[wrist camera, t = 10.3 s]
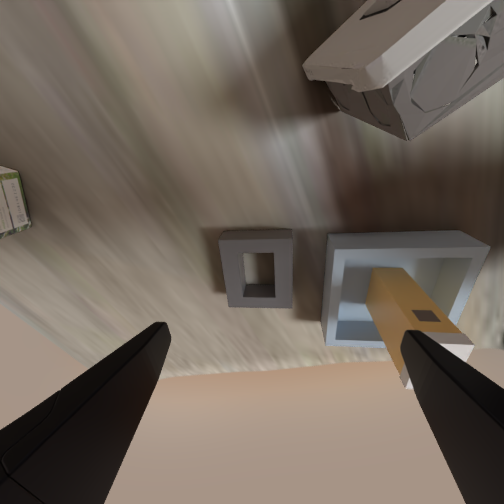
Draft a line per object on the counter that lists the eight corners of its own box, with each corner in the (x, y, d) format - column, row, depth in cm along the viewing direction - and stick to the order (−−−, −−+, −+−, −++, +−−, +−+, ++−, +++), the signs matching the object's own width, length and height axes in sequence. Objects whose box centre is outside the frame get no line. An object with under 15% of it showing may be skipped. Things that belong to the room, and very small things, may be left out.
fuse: (403, 267, 19) (474, 345, 12) (392, 305, 21) (449, 391, 14) (372, 267, 19) (423, 342, 12) (364, 304, 21) (405, 388, 14)
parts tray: (459, 230, 18) (490, 246, 15) (425, 324, 22) (444, 350, 20) (327, 233, 19) (334, 249, 16) (320, 321, 24) (325, 345, 21)
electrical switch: (463, -92, 11) (976, -627, 3) (488, 22, 13) (839, -120, 5) (298, 67, 14) (334, 13, 6) (337, 137, 16) (401, 161, 8)
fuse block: (291, 229, 19) (292, 238, 18) (291, 294, 22) (292, 308, 21) (223, 231, 20) (218, 240, 18) (232, 294, 23) (228, 307, 22)
